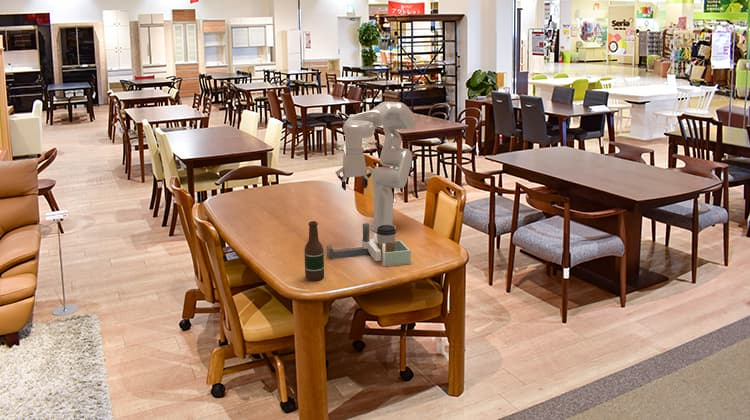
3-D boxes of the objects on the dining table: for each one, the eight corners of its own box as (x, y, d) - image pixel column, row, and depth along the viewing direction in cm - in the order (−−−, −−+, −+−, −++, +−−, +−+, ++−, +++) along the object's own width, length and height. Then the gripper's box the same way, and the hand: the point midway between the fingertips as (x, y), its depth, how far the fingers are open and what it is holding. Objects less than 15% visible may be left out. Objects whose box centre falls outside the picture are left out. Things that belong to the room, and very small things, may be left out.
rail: (327, 255, 312) (327, 245, 311) (386, 250, 319) (386, 239, 318) (329, 259, 308) (329, 248, 306) (389, 253, 314) (389, 243, 313)
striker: (362, 248, 315) (361, 223, 312) (374, 247, 317) (374, 222, 313) (371, 261, 299) (371, 234, 296) (385, 260, 301) (385, 233, 298)
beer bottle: (324, 274, 291) (323, 219, 284) (323, 281, 283) (322, 224, 277) (305, 274, 291) (303, 219, 284) (304, 281, 283) (302, 225, 276)
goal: (373, 255, 313) (373, 234, 310) (400, 252, 316) (400, 231, 313) (383, 266, 299) (382, 244, 296) (410, 263, 302) (410, 241, 299)
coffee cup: (379, 264, 302) (379, 231, 298) (374, 257, 309) (374, 225, 305) (398, 262, 304) (398, 229, 300) (392, 256, 312) (392, 223, 307)
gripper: (370, 148, 317) (371, 185, 321) (333, 151, 312) (334, 188, 317) (375, 151, 310) (375, 189, 315) (336, 154, 305) (338, 192, 310)
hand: (354, 188), depth 316 cm, fingers open, 9 cm apart
